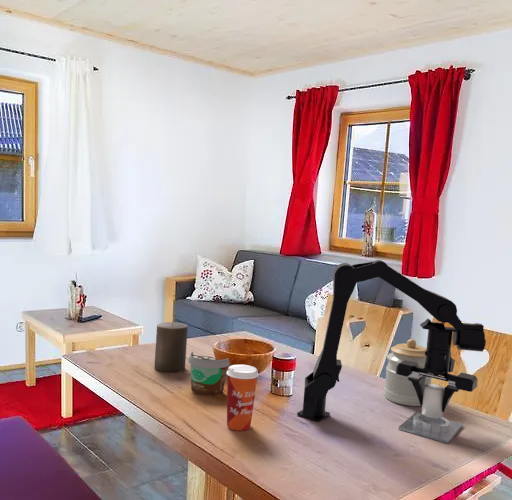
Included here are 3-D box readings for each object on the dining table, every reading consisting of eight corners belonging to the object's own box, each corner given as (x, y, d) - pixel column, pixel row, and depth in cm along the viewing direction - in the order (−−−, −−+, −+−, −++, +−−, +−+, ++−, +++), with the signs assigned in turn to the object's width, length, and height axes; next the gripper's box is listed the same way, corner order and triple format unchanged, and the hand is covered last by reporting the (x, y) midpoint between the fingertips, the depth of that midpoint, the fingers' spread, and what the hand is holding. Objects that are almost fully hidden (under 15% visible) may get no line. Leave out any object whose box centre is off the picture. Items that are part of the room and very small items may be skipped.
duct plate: (448, 443, 126) (448, 435, 126) (398, 429, 133) (399, 421, 133) (462, 426, 138) (463, 418, 138) (416, 413, 145) (416, 406, 144)
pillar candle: (182, 373, 165) (185, 325, 164) (151, 370, 165) (154, 322, 164) (187, 364, 175) (190, 319, 174) (157, 362, 175) (160, 316, 174)
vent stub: (439, 420, 132) (441, 392, 131) (418, 414, 135) (421, 387, 134) (445, 413, 137) (448, 386, 136) (426, 408, 139) (428, 382, 139)
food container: (178, 391, 149) (180, 356, 148) (189, 385, 155) (191, 351, 154) (218, 400, 145) (220, 363, 144) (227, 393, 150) (230, 358, 150)
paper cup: (230, 434, 123) (235, 374, 122) (217, 421, 130) (221, 364, 129) (260, 430, 127) (265, 372, 126) (246, 418, 133) (250, 362, 132)
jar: (437, 400, 157) (443, 341, 155) (416, 410, 147) (422, 347, 146) (396, 388, 165) (402, 332, 164) (375, 397, 156) (380, 337, 155)
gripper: (485, 349, 135) (479, 410, 136) (412, 335, 146) (407, 391, 147) (475, 357, 126) (468, 422, 127) (398, 342, 137) (392, 401, 138)
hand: (432, 408), depth 135 cm, fingers closed on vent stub, 5 cm apart
